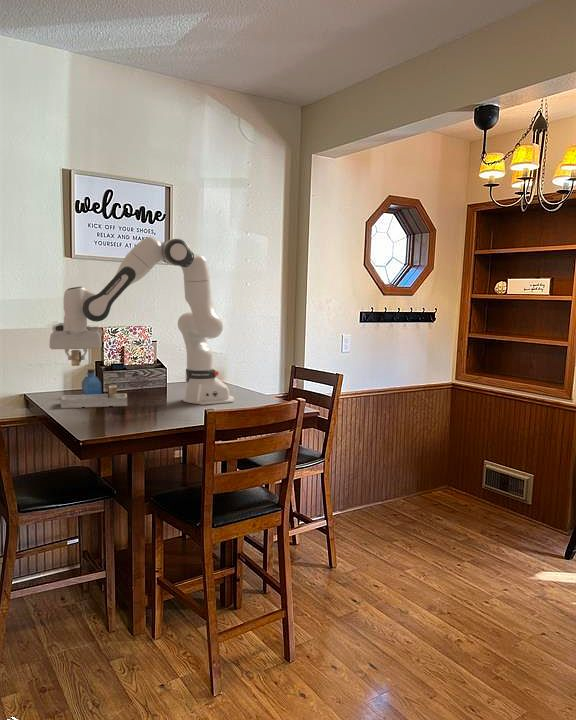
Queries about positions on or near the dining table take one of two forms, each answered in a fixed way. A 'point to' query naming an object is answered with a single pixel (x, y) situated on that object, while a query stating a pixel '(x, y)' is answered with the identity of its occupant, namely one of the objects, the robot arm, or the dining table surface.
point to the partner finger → (112, 391)
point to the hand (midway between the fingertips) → (76, 359)
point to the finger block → (76, 357)
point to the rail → (93, 400)
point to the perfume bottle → (91, 384)
